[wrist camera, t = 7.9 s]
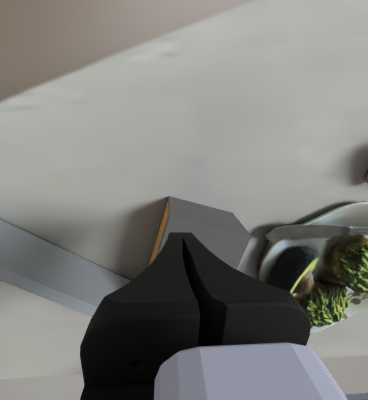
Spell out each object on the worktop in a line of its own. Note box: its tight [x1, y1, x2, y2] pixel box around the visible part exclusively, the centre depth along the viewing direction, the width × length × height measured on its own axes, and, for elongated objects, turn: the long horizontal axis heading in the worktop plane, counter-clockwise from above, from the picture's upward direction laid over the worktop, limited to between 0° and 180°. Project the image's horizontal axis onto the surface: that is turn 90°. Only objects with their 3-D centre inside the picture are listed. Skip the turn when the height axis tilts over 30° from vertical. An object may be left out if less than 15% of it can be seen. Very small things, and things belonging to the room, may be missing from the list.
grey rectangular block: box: [148, 196, 251, 269], centre depth 21 cm, size 14×7×5 cm, turn 163°
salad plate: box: [258, 201, 368, 334], centre depth 23 cm, size 19×18×5 cm
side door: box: [0, 220, 131, 317], centre depth 19 cm, size 17×2×5 cm, turn 55°
